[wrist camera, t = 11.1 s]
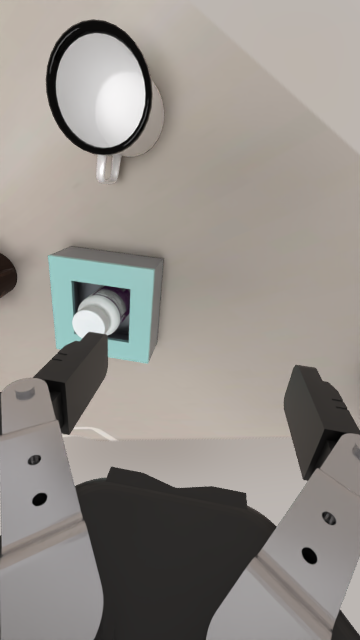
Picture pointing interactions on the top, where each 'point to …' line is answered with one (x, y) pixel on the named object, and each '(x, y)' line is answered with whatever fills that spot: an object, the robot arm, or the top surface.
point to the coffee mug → (6, 275)
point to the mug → (103, 94)
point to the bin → (117, 271)
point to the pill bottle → (102, 311)
